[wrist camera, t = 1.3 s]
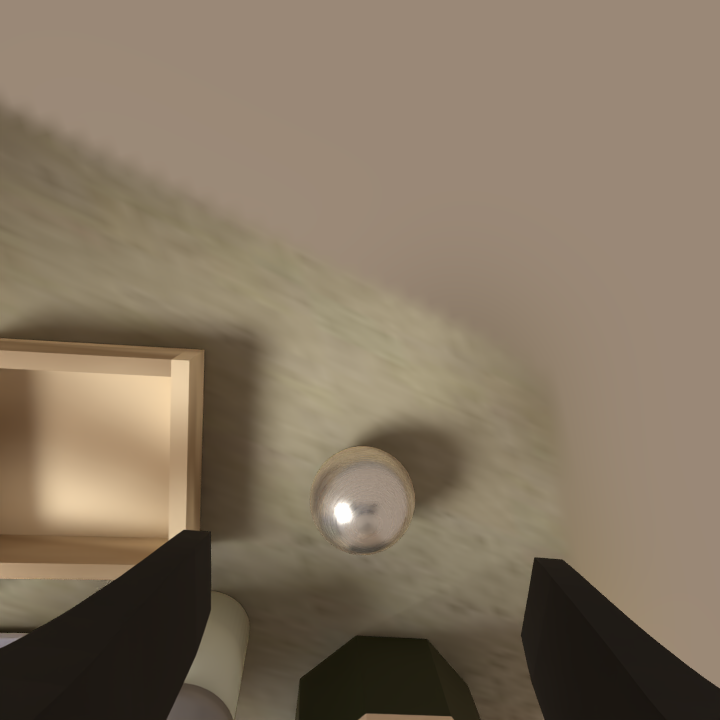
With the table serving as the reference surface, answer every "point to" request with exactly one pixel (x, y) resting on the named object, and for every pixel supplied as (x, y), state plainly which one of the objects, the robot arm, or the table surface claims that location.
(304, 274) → the table surface
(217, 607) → the shaker
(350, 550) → the ball
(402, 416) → the table surface
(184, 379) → the tray
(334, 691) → the wine bottle
